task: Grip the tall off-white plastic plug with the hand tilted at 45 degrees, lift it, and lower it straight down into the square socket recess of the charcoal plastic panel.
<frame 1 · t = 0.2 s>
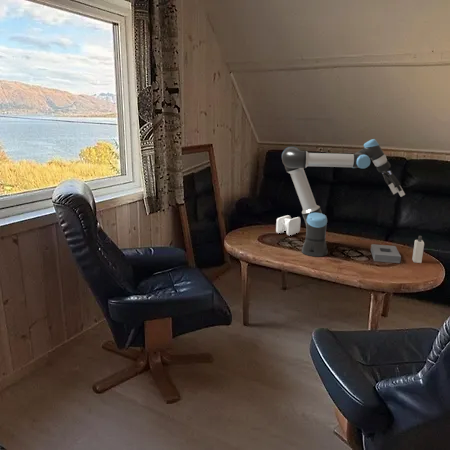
hand: (399, 194, 249), 35 cm above the table, tool tilted 35°, fingers open, 13 cm apart
plug: (416, 261, 241), on the table
cable organizer: (287, 233, 292), on the table
socket panel: (384, 256, 248), on the table
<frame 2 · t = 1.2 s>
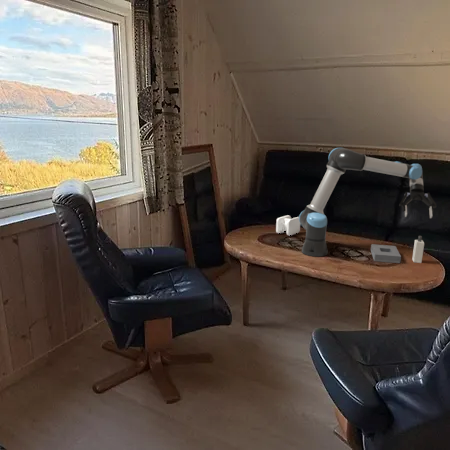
hand: (418, 216, 244), 24 cm above the table, tool tilted 45°, fingers open, 13 cm apart
nothing on the table moved.
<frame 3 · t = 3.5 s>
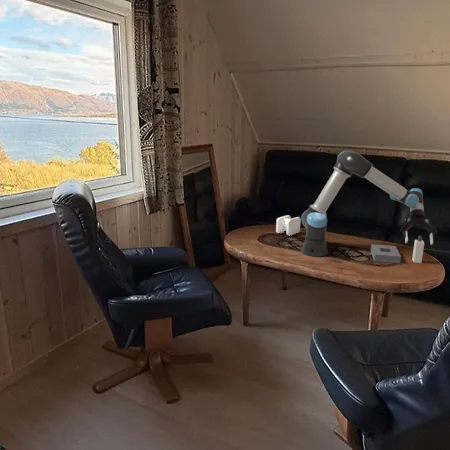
hand: (419, 243, 242), 10 cm above the table, tool tilted 45°, fingers open, 13 cm apart
nothing on the table moved.
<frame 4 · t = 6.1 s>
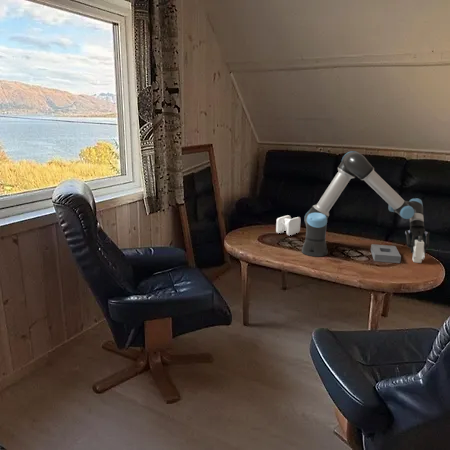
hand: (418, 258, 236), 3 cm above the table, tool tilted 45°, fingers closed on plug, 4 cm apart
plug: (416, 261, 241), on the table, touching gripper
everything else where it was.
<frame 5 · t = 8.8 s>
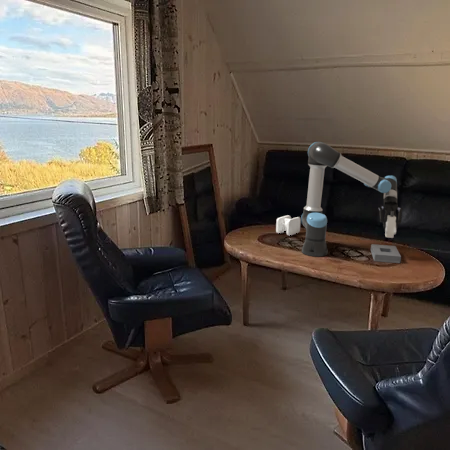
hand: (390, 232, 240), 16 cm above the table, tool tilted 45°, fingers closed on plug, 4 cm apart
plug: (389, 236, 244), point 13 cm above the table, touching gripper
everything else where it was.
when the fingers open (6 cm above the table, at t = 11.7 s): plug drops 1 cm, resting on socket panel.
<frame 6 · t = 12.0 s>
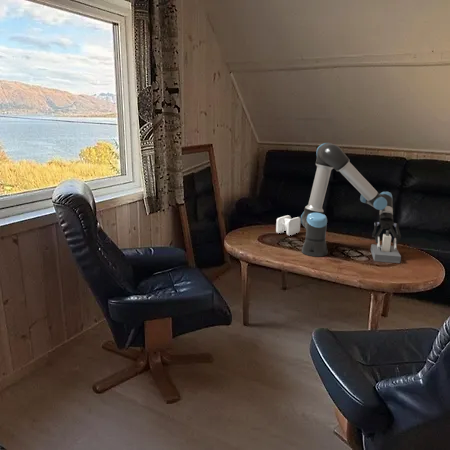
hand: (386, 248, 243), 6 cm above the table, tool tilted 45°, fingers open, 8 cm apart
plug: (384, 254, 247), point 1 cm above the table, touching socket panel
everything else where it was.
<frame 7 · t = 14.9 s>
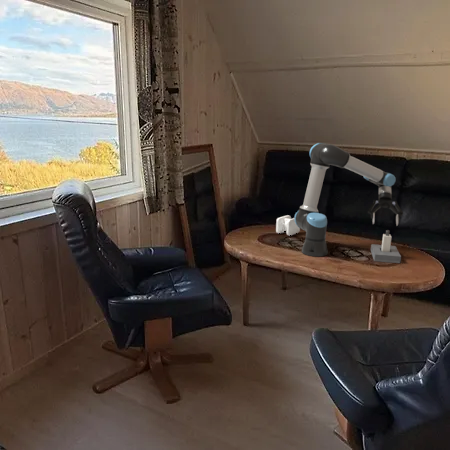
hand: (385, 223, 253), 17 cm above the table, tool tilted 45°, fingers open, 13 cm apart
nothing on the table moved.
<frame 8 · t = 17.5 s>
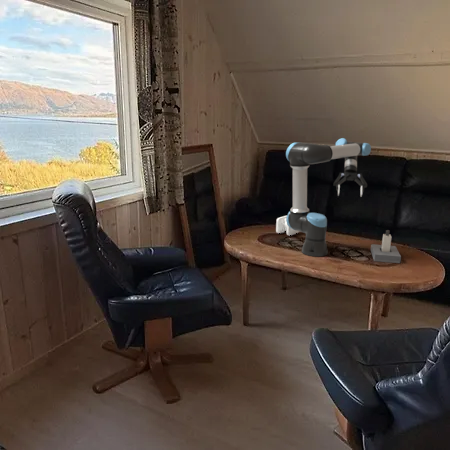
hand: (349, 195, 259), 33 cm above the table, tool tilted 45°, fingers open, 13 cm apart
nothing on the table moved.
at the end: plug 0.1 cm off-centre on the socket panel, point 1.0 cm above the socket panel's base; plug tilted 0°; the gripper is holding nothing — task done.
